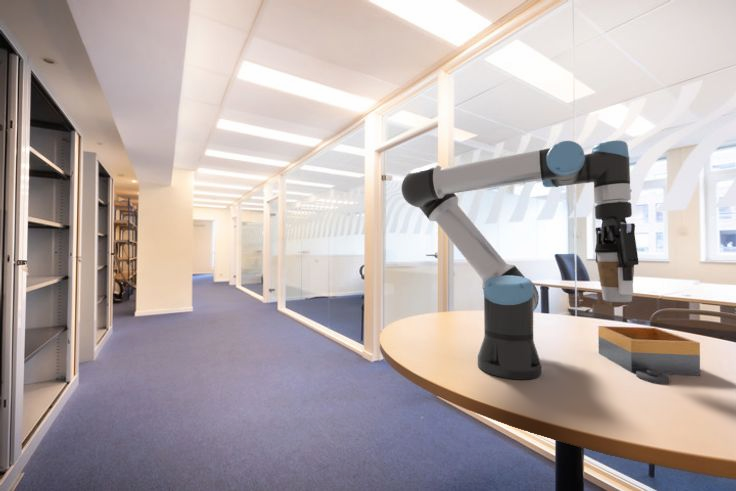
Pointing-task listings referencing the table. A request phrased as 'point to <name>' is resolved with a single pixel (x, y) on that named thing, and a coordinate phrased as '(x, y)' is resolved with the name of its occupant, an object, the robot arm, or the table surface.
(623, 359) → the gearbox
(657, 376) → the disc
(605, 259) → the coffee cup
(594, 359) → the table surface
